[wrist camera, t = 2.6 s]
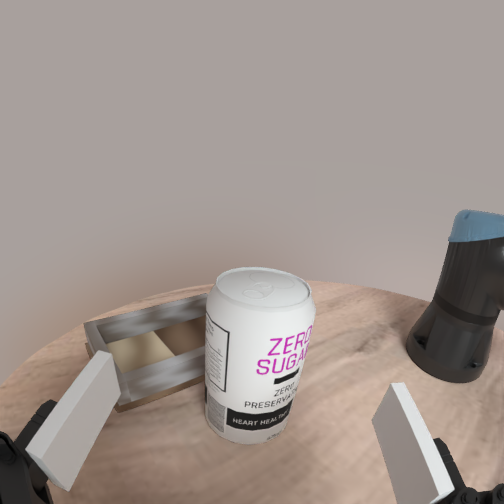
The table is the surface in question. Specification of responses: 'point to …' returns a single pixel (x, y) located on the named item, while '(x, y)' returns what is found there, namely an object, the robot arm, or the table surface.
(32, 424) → the robot arm
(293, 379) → the supplement can
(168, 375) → the rectangular tray
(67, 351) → the table surface
